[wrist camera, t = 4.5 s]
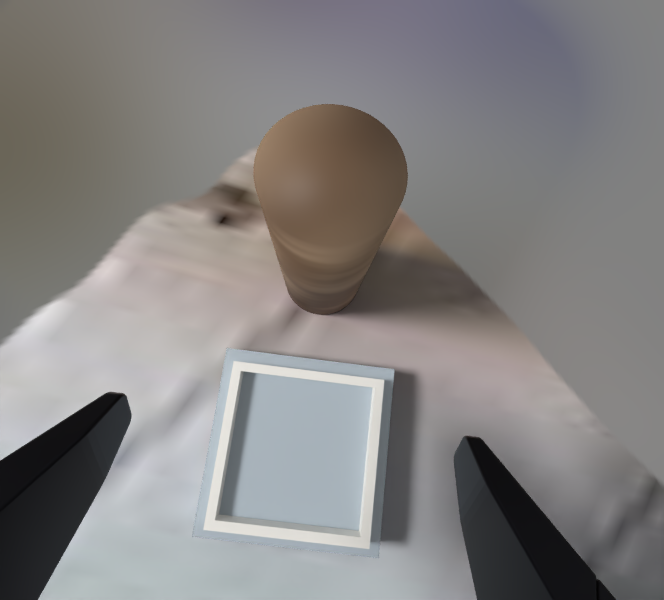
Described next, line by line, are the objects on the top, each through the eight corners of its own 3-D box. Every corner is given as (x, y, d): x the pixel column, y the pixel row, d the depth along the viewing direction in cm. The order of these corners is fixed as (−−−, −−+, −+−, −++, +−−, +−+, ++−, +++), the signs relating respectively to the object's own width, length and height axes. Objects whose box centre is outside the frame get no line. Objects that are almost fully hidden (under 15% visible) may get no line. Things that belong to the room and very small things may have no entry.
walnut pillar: (372, 267, 25) (433, 150, 12) (335, 328, 24) (359, 272, 11) (310, 231, 25) (306, 79, 12) (271, 290, 24) (222, 192, 11)
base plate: (372, 541, 21) (381, 566, 18) (203, 521, 21) (186, 543, 18) (387, 369, 23) (397, 368, 20) (234, 350, 23) (223, 347, 20)
